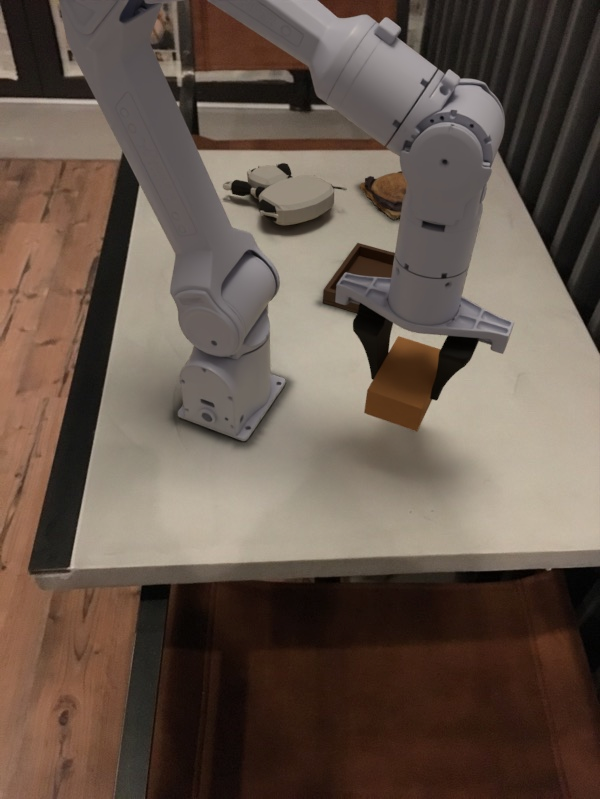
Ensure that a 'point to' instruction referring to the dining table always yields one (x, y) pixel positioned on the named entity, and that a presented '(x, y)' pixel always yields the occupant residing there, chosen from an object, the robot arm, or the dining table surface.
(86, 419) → the dining table surface
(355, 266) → the frame
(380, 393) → the orange block
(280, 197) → the robot toy
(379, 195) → the brown sandwich
